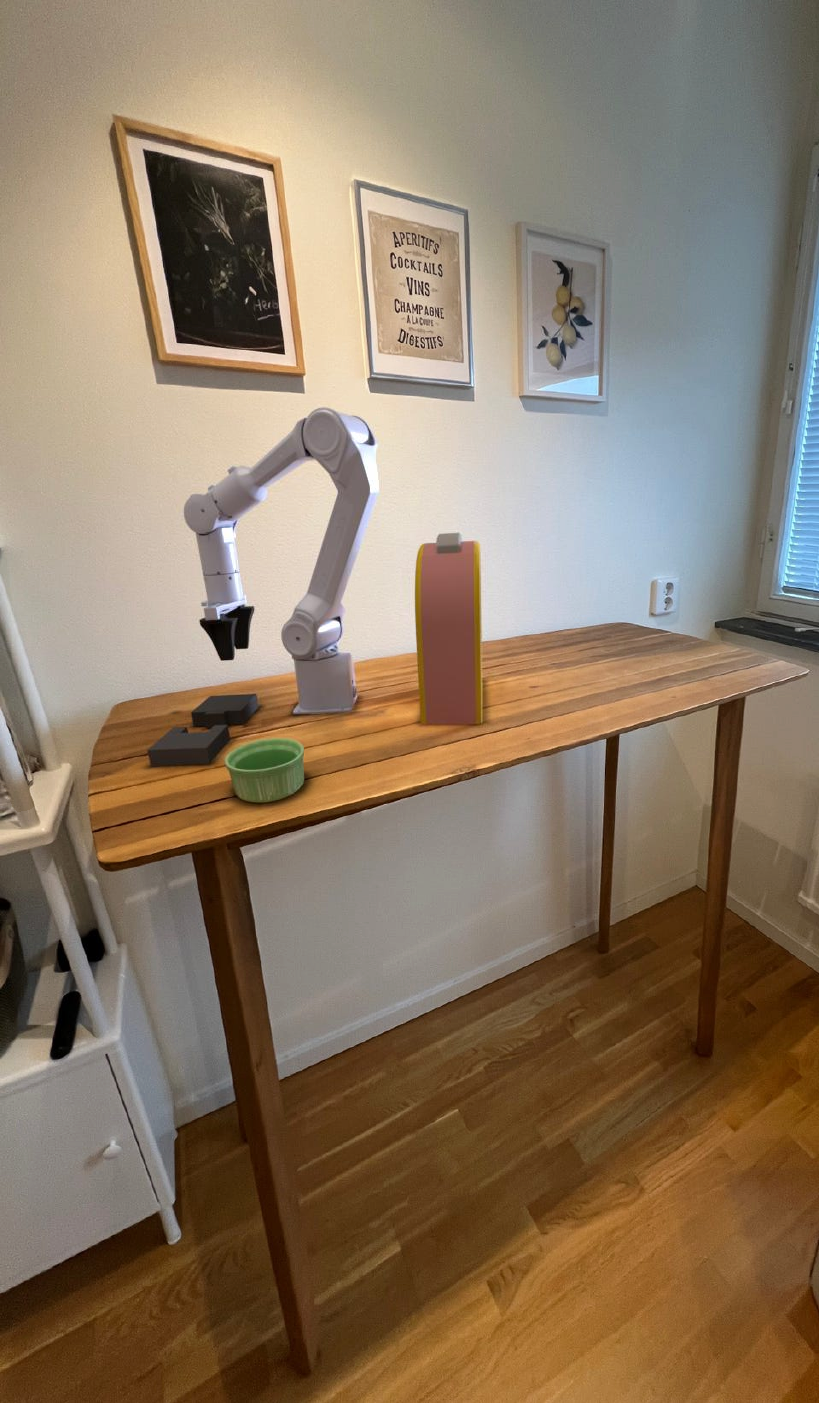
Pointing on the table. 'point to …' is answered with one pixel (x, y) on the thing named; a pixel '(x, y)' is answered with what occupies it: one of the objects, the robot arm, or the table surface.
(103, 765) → the table surface
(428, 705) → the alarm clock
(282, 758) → the ramekin
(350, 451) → the robot arm
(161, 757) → the charcoal pad
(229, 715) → the black pad
